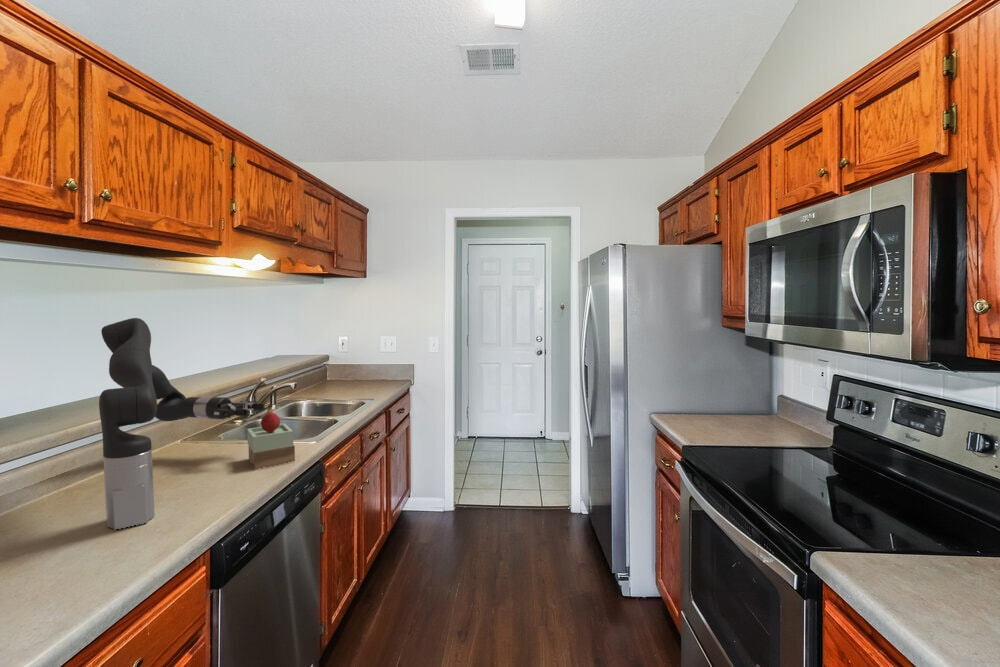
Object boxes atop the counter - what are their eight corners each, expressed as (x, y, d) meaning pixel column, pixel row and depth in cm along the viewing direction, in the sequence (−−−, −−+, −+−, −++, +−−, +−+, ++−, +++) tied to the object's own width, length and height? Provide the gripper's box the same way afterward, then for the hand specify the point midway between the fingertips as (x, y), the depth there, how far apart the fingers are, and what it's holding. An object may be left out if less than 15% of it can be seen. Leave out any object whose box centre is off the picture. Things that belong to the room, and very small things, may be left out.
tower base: (294, 462, 154) (294, 445, 154) (255, 470, 147) (255, 452, 146) (286, 453, 164) (285, 437, 163) (248, 460, 156) (248, 443, 156)
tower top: (293, 445, 154) (292, 430, 153) (253, 452, 146) (253, 437, 146) (285, 437, 163) (284, 423, 163) (247, 443, 156) (247, 428, 155)
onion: (272, 436, 151) (272, 412, 151) (257, 435, 152) (256, 411, 152) (283, 431, 157) (283, 408, 156) (268, 430, 158) (268, 407, 157)
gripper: (196, 401, 150) (241, 403, 148) (227, 393, 164) (268, 394, 162) (197, 423, 150) (241, 425, 148) (227, 413, 164) (269, 415, 162)
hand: (255, 409), depth 155 cm, fingers open, 8 cm apart
